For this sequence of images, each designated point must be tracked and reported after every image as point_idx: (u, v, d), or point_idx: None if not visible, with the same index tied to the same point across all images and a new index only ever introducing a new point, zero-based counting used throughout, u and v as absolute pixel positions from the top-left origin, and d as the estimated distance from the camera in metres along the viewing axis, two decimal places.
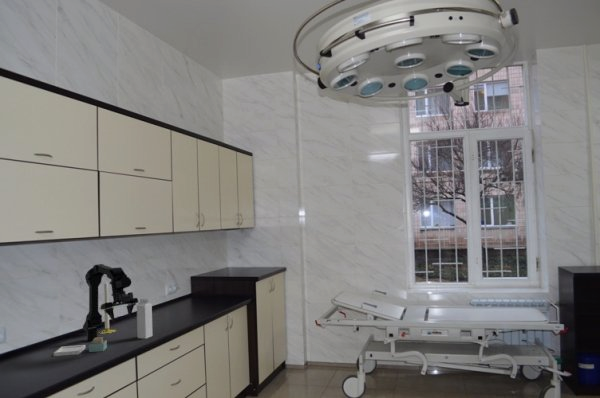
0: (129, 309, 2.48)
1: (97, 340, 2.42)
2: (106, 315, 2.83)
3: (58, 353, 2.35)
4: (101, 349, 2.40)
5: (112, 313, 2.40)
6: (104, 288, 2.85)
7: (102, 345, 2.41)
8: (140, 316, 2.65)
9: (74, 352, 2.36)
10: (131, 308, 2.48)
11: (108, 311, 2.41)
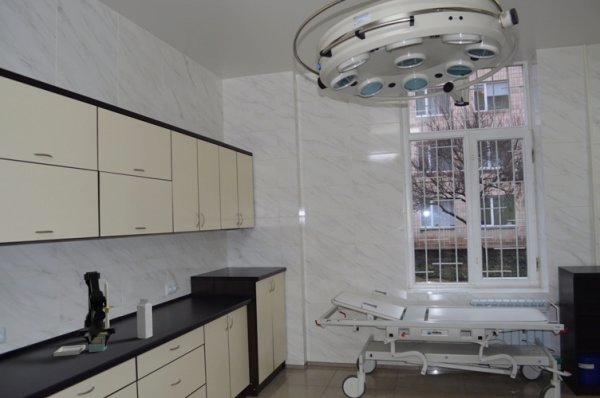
0: None
1: (97, 340, 2.42)
2: (106, 315, 2.83)
3: (58, 353, 2.35)
4: (101, 349, 2.40)
5: (88, 341, 2.42)
6: (104, 288, 2.84)
7: (102, 345, 2.41)
8: (140, 316, 2.65)
9: (74, 352, 2.36)
10: (106, 338, 2.43)
11: None
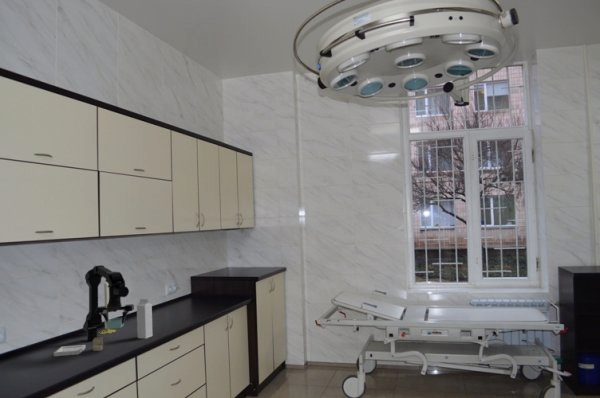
0: None
1: (97, 340, 2.42)
2: None
3: (58, 353, 2.35)
4: (119, 326, 2.44)
5: (105, 318, 2.46)
6: (104, 288, 2.85)
7: (119, 322, 2.44)
8: (140, 316, 2.65)
9: (74, 352, 2.36)
10: (123, 315, 2.47)
11: None
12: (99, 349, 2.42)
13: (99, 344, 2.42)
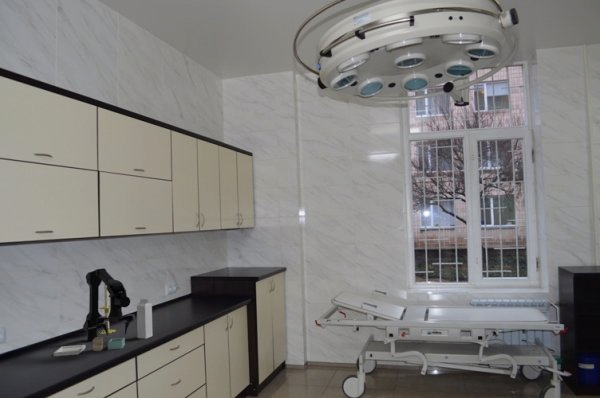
0: None
1: (97, 340, 2.42)
2: (106, 315, 2.83)
3: (58, 353, 2.35)
4: (120, 347, 2.44)
5: (105, 328, 2.45)
6: (104, 288, 2.85)
7: (121, 343, 2.44)
8: (140, 316, 2.65)
9: (74, 352, 2.36)
10: (126, 325, 2.47)
11: None
12: (99, 349, 2.42)
13: (99, 344, 2.42)
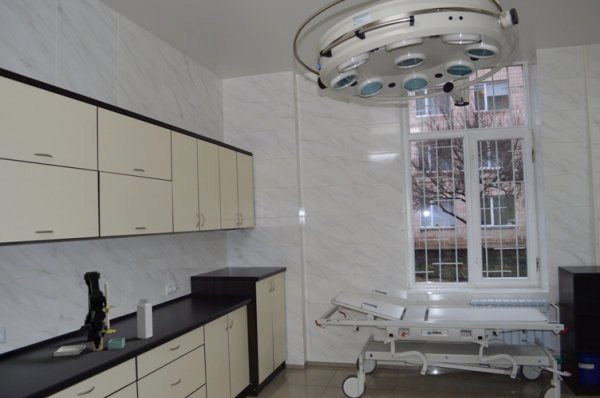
0: None
1: None
2: (106, 315, 2.83)
3: (58, 353, 2.35)
4: (120, 347, 2.44)
5: None
6: (104, 288, 2.84)
7: (121, 343, 2.44)
8: (140, 316, 2.65)
9: (74, 352, 2.36)
10: None
11: (101, 335, 2.48)
12: (99, 349, 2.42)
13: None
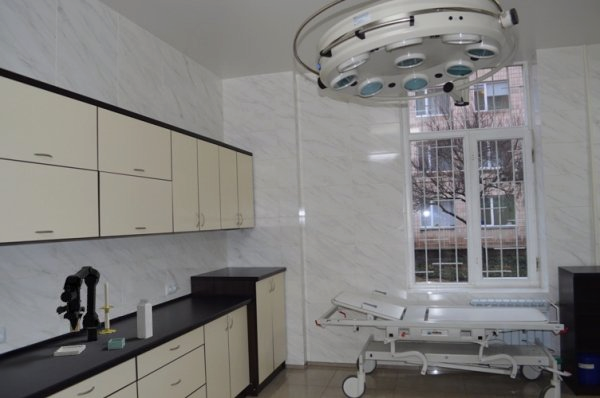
0: None
1: None
2: (106, 315, 2.83)
3: (58, 353, 2.35)
4: (120, 347, 2.44)
5: None
6: (104, 288, 2.85)
7: (121, 343, 2.44)
8: (140, 316, 2.65)
9: (74, 352, 2.36)
10: None
11: (79, 316, 2.46)
12: (76, 330, 2.40)
13: (76, 325, 2.40)
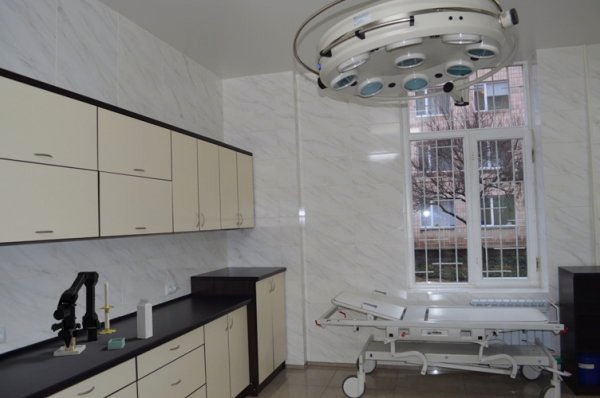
0: None
1: None
2: (106, 315, 2.83)
3: (58, 353, 2.35)
4: (120, 347, 2.44)
5: None
6: (104, 288, 2.85)
7: (121, 343, 2.44)
8: (140, 316, 2.65)
9: (74, 352, 2.36)
10: None
11: None
12: (71, 349, 2.39)
13: (71, 344, 2.39)
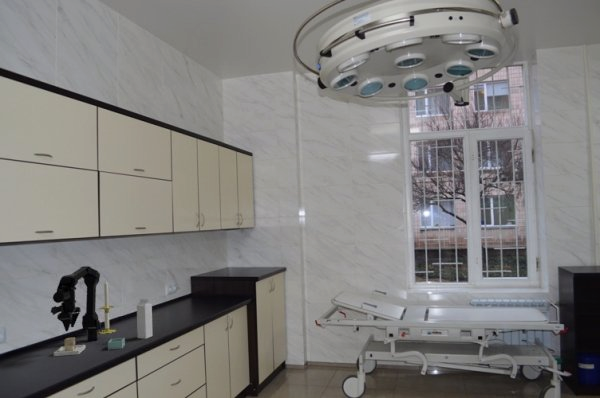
0: None
1: (69, 340, 2.39)
2: (106, 315, 2.83)
3: (58, 353, 2.35)
4: (120, 347, 2.44)
5: None
6: (104, 288, 2.85)
7: (121, 343, 2.44)
8: (140, 316, 2.65)
9: (74, 352, 2.36)
10: None
11: None
12: (71, 349, 2.39)
13: (71, 344, 2.39)
